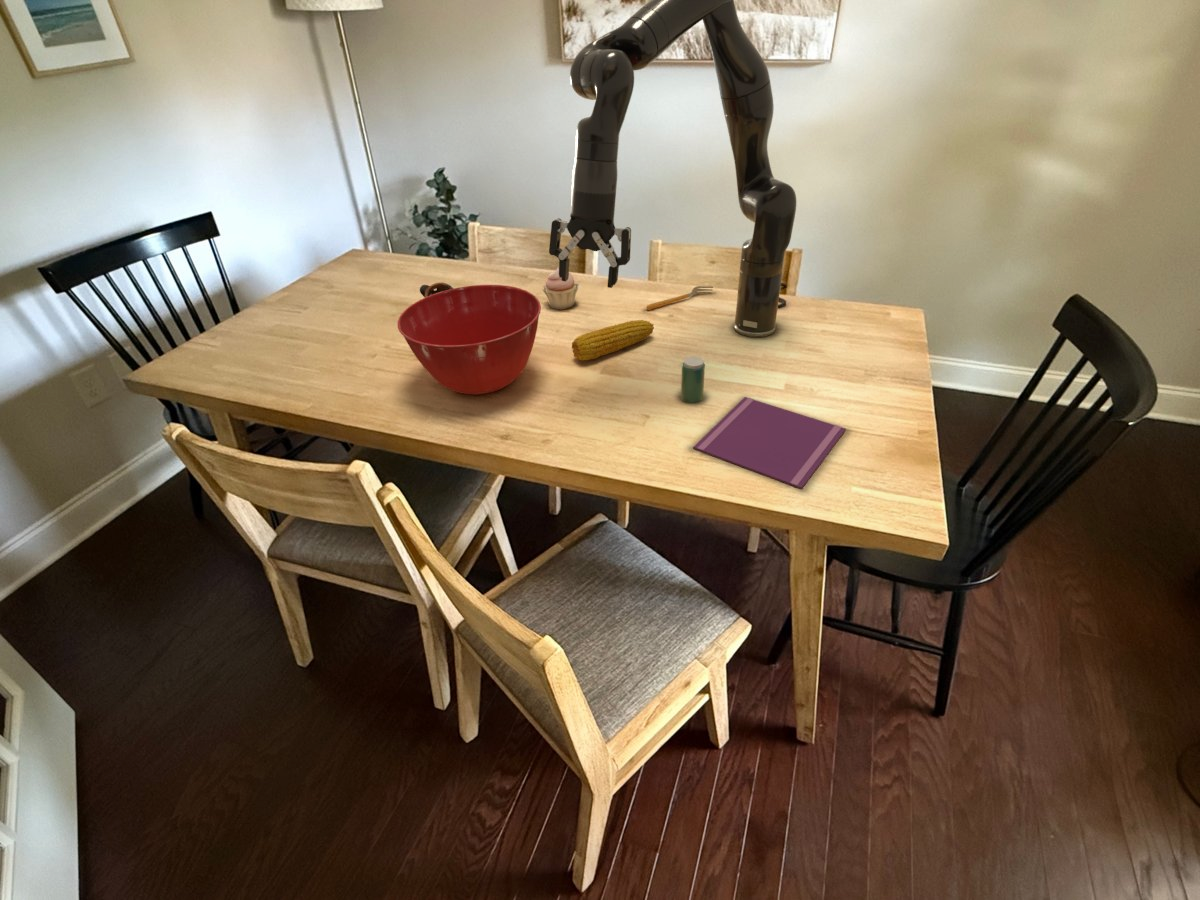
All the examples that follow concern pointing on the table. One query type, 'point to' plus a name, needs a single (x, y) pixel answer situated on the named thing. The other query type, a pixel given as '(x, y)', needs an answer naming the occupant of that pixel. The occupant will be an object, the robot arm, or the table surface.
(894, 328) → the table surface
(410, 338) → the mixing bowl
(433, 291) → the pottery mug
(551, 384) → the table surface
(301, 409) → the table surface
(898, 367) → the table surface
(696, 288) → the fork
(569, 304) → the cupcake
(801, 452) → the napkin
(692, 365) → the salt shaker
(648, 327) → the food
